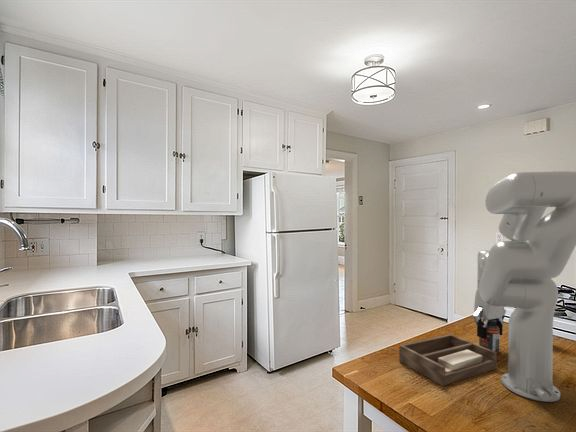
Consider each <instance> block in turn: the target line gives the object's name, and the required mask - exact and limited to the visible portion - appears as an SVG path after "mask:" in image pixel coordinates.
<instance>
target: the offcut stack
mask: <svg viewBox="0 0 576 432" xmlns="http://www.w3.org/2000/svg"><path fill="white" fill-rule="evenodd" d="M481 362H482V355H480V354H477V353H475V352H473V351H470V350H468V349H467V350H463V351H460V352H457V353H453V354H450V355H446V356H443V357H439V358H438V364H440V365H442V366H444V367H445V373H448V372H451V371H454V370H458V369H461V368H464V367H468V366H471V365H475V364H478V363H481Z"/></svg>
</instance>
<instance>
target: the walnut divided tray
mask: <svg viewBox="0 0 576 432" xmlns="http://www.w3.org/2000/svg"><path fill="white" fill-rule="evenodd" d="M467 349H468V350H470V351H473V352H475V353H477V354H480V355H482V362H481V363H478V364H475V365H471V366H468V367H464V368H461V369H458V370H454V371H451V372H448V373H445V367H444V366H442V365H440V364H438V358H439V357H443V356H446V355H450V354H453V353H457V352H460V351H463V350H467ZM497 355H498V353H497V352H495V351H492V350H489V349H487V348H484V347H482V346H479V344H477V343H474V342H472V341H469V340H466V339H464V338H462V337H459V336H456V335H454V334H452V333H449V334H444V335H440V336H435V337H430V338H427V339H426V338H425V339H421V340H417V341H412V342H408V343H403V344H399V354H398V356H399V357H398V358H399V360H398V361H399V362H401V363H403V364H404V365H406V366H407V367H409V368H411V369H413V370H415V371H416V372H418V373H420V374H421V375H423V376H425V377H427V378H429V379H430V380H432V381H434V382H435V383H437V384H438V385H441V386H445V385H449V384H452V383H455V382H459V381H461V380H465V379H468V378H472V377H474V376H478V375H481V374H483V373H487V372H490V371H493V370H497Z"/></svg>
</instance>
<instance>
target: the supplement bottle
mask: <svg viewBox="0 0 576 432" xmlns="http://www.w3.org/2000/svg"><path fill="white" fill-rule="evenodd" d="M483 317H484V316H483ZM484 318H485V317H484ZM482 322H484V320H482ZM496 322H497V321H496V319H492V320H488V322H487V325H486V327H487V339H484V338H481V337H478V345H479V346H482V347H484V348H487V349H489V350H492V351H495V352H497V354H499V352H500V336H501V335H500V329H499V327H498V326H497V325H496V324H497V323H496Z"/></svg>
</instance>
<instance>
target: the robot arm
mask: <svg viewBox="0 0 576 432" xmlns="http://www.w3.org/2000/svg"><path fill="white" fill-rule="evenodd" d="M484 202H485V207H486V210H487V212H489V213H491V214H493V215H502V218H501V220H500V222H499V225H498V231H499V233H500V235H502V236H503V237H504V238H505V239H506V240H503V241H500V242H499V241H498V242H497V243H495V244H494V245H492V246H491V248H490V250H489V249H488V250H486V249H485V250H484V249H483V250H480V251H478V252H477V279H476V280H477V285H476V286H477V289H476V290H475V291H476V292H475V297H474V306H473V315H472V318H473V319H474V322H475V325H476V336H477V337H478V338H479V337H481V338H484V339H487V327H486V325H487V322H488V320H492V319H496V321H497V322H496V323H497V324H496V325H497V326H498V327H499V329H500V335H499V336H503V324H504V319H505V315H506V313H507V310H506V309H505V308H514V310H513V311H512V313H511V314H510V316H509V318H508V325H507V326H508V327H507V335H508V336H507V338H508V339H507V349H508V350H507V373H504V374H502V375H501V377H500V378H501V383H502V384H503V386H504V387H506V388H507V389H508V390H510V391H511V392H513V393H514V394H517V395H519V396H520V397H524V398H526V399H530V400H533V401H538V402H545V403H549V402H550V403H553V402H558V401H560V399H561V391H560V390H559V388H557V387H556V386H555V385H554V381H553V377H554V376H553V374H554V373H553V364H554V363H553V359H554V357H553V356H554V354H553V352H554V349H553V347H554V345H553V343H554V341H553V339H554V338H553V336H554V315H555V312H556V311H555V310H556V306H557V302H558V298H559V289H558V286H557V284H556V283H555V281H554V280H553V279H555V278H557V277H559V276H560V275H561V274H562V273H563V271H564V269H565V267H566V265H567V264H568V261H569V260H570V258H571V255H572V253H573V251H574V250H575V248H576V171H564V170H563V171H562V170H561V171H560V170H559V171H558V170H557V171H556V170H555V171H525V172H523V171H522V172H515V173H512V174H510V175H507V176H506V177H504V178H502V179H501V180H499V181H498V182H496V183H495V184H493V185H492V186H491V187H490V188H489V190H488V191H487V194H486V196H485V201H484ZM547 208H554V209H553V210H552V211H550V212H549V213H547V214H546V215H545V216H544V213H545V212H546V210H547ZM507 239H508V240H507ZM484 317H485V318H484ZM483 320H484V322H483Z"/></svg>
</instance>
